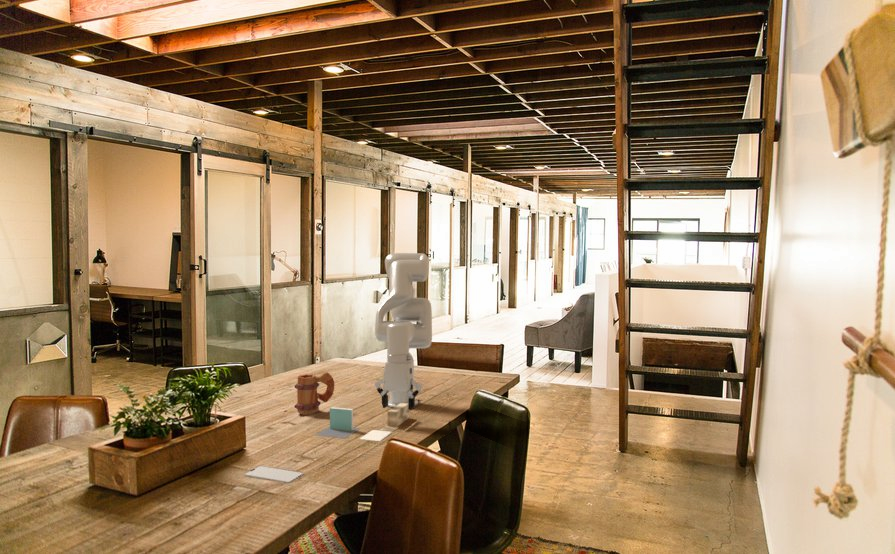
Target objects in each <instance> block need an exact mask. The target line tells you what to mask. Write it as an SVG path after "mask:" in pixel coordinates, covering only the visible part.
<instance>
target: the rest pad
mask: <svg viewBox="0 0 895 554" xmlns="http://www.w3.org/2000/svg"><path fill="white" fill-rule="evenodd" d="M392 433H393V432H392V431H382V430H380V429H379V430H378V429H372V430H370V431H369V432H367V433H366V434H365V435H363V436H360V437H359V440H361V441H369V442H370V441H371V442H377V443H378V442H379V443H380V442H381V441H383V440H384V439H386V438H387V437H389V436H390V435H391V434H392Z"/></svg>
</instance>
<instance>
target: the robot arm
mask: <svg viewBox="0 0 895 554" xmlns="http://www.w3.org/2000/svg"><path fill="white" fill-rule="evenodd" d="M429 261H430V260H429V257H428V255H427V254H425V253H420V252H419V253H418V252H416V253H415V252H402V253H401V252H400V253H398V252H396V253H391V254H388V255H387V256H386V257H385V259H384V266H385V272H386V275H387V278H388V286H389V287H388V295H387V297H386V298H385V299H384V300H383V301H382V302H381V303H380V305H379V306H378V307H377V311H376V313H375V324H374V333H375V334H374V335H375V338H376V340H377V341H378V342H381V343H387V344H386V349H387V350H386V351H387V353H386V356H387V358H386V362H385V364H384V370H383V378H382V379H380V380H378V381H376V382H375V383H374V387H375V388H376V391H377V392H378V394H379V395H380V397H381V406H382V408H383V409H385V408H388V407H390V408H394V407H395V406H397V405H398V404H400V403H407V404H409V411H410V410H413V409H414V408H415V407H416V406H417V405H418V404H419V401H418V400H417V399H416V397H417V395H418V394H420V392H421V389H422V388H423V385H422V384H421V383H419V382H418V381H416V380H415V377H414V376H415V372H414V371H415V370H414V369H415V366H414V365H415V362H414V361H415V360H414V357H413V355H412V354H411V353H410V349H427V348H430V346H431V345H432V342H433V341H432V340H433V313H432V309H433V308H432V303H431V301H430V300H429V299H428V298H426V297H414V291H413V290H414V286H413V282H414V283H415V282H419V283H421V282H426V281H427V279H428V277H429V269H430V268H429V267H430V266H429V265H430V262H429ZM390 311H391V318H392V319H393V320H384V318H385V316H386V314H388V312H390ZM412 322H415V323H412ZM416 322H417V323H416ZM381 384H382V386H381ZM415 387H416V388H415ZM388 393H389V395H388Z"/></svg>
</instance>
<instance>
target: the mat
mask: <svg viewBox="0 0 895 554" xmlns="http://www.w3.org/2000/svg"><path fill="white" fill-rule="evenodd" d="M360 429H361V427H356V426H353V430H352V431H346V430H336V429H330V425H329V426H328V427H326V428H324V429H323V430H321V431H319V432H317V433H315V434H314V436H318V437H326V438H335V439H336V438H338V439H346V438H348V437H349V436H351V435H353V434H354V433H356V432H357V431H358V430H360Z"/></svg>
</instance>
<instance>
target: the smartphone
mask: <svg viewBox="0 0 895 554" xmlns="http://www.w3.org/2000/svg"><path fill="white" fill-rule="evenodd" d="M303 475H305V473H304V472H302V471H301V472H300V471H295V470H289V469H283V468H277V467H271V466H265V465H259V466H256V467H254V468H253V469H250V470H249V471H246V472H245V473H244V474H243V476H244V477H248V478H253V479H254V478H255V479H260V480H261V479H262V480H266V481H273V482H278V481H279V483H284V482H285V483H286V484H289V483H292V482H294V481H295V480H297V479H299V478H300V477H302V476H303Z"/></svg>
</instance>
